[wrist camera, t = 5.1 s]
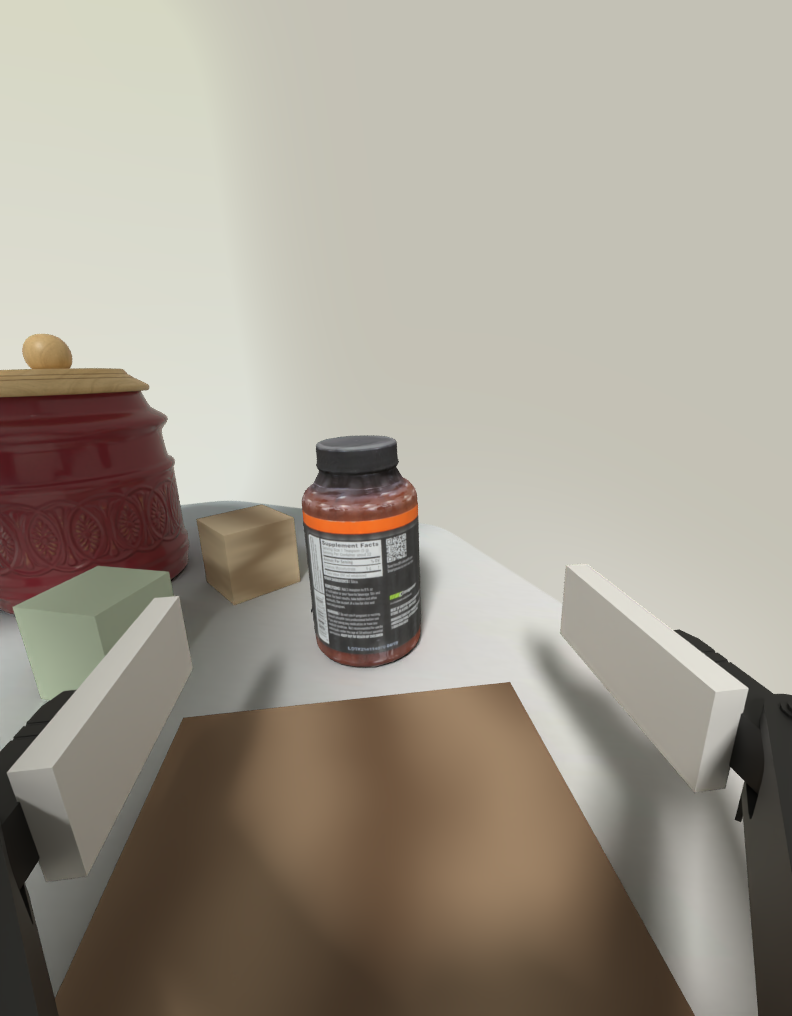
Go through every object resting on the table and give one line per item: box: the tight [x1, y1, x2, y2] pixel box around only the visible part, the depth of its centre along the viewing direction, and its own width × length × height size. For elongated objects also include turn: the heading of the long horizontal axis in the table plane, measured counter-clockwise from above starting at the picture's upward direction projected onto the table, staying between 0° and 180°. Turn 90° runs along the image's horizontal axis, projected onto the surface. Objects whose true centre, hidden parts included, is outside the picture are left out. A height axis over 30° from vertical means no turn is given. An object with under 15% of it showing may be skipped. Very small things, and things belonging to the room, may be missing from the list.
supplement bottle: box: [302, 436, 421, 667], centre depth 24 cm, size 6×6×11 cm
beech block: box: [196, 505, 300, 605], centre depth 32 cm, size 5×5×5 cm
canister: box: [0, 334, 189, 614], centre depth 32 cm, size 13×13×18 cm
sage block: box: [13, 566, 174, 700], centre depth 22 cm, size 4×4×5 cm
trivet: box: [55, 682, 695, 1016], centre depth 13 cm, size 14×14×1 cm
